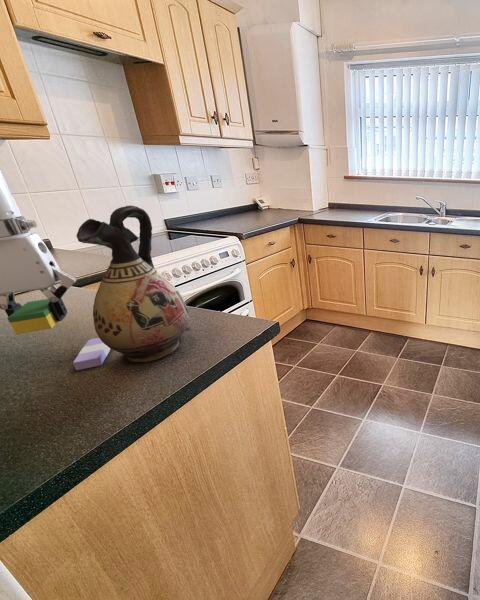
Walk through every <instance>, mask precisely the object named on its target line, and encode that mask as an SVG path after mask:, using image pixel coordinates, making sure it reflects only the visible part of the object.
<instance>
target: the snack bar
mask: <svg viewBox="0 0 480 600" xmlns="http://www.w3.org/2000/svg"><path fill="white" fill-rule="evenodd" d="M111 350H112V349H111V348H109V347H108V346H106V345H105V344H104V343H103V342H102V341H101V340H100V338H99V337H95V338H91V339H88V340H87V342H86V343H85V344H84V346H83V347H82V348H81V350H80V351H79V353H78V354H77V356H76V357H75V359H74V360H73V362H72V365H73V367H74V369H75V371H81V370H85V369H90V368H94V367H99V366H103V364H104V362H105V360H106V358H107V357H108V355H109V353H110V352H111Z"/></svg>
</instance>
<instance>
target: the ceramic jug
mask: <svg viewBox="0 0 480 600" xmlns="http://www.w3.org/2000/svg"><path fill="white" fill-rule="evenodd" d="M128 218H132V219H136V220H138V223H139V237H138V236H137V235H136V234H135V233H134V232H133V231H132V230H131V229H129V228H128V227H125V224H124V222H125V220H126V219H128ZM152 237H153V224H152V220H151V217H150V216H149V214H148V213H147V212H146V211H145V210H144V209H143V208H141V207H139V206H136V205H125V206H121V207H118V208H116V209H115V210H113V211H112V212H111V214H110V217H109V223H107V222H105V221H99V220H96V219H95V218H88V219H86V220H84V222H82V223H81V225H80V226H79V227H78V230H77V233H76V239H77V242H79V243H82V244H89V245H97V246H103V247H106V248H108V249H110V250H111V257H112V258H111V260H110V262H109V265H108V267H107V269H106V271H105V273H104V274H103V276H102V279H101V281H100V283H99V286H98V289H97V291H96V293H95V296H94V301H93V306H92V318H93V327H94V330H95V333H96V334H97V337H98V338H100V340H101V341H102V342H103V343H104V344H105V345H106V346H108V347H109V348H111V349H110V350H113V351H115V352H117V353H119V354H122V355H124V356H125V357H126V358H127V360H128V362H130V363H136V362H137V363H147V362H152V361H155V360H159V359H162V358H163V357H166V356H168V355H170V354H171V353H173V352H175V350H177V348H178V347H179V344H180V342H179V341H180V338H181V337H182V335H183V334H184V332H185V331H186V330H187V327H188V324H189V320H190V319H189V310H188V306H187V303H186V301H185V300H184V298H183V296H182V294H181V292H180V291H179V290H178V289H177V288H176V286H175V285H174V284H173V283H172V282H171V281H170V280H168V278H167V277H165V276H164V275H163V274H162V273H161V272H159V271H158V270H157V269H156V268H155V265H154V263H153V259H152V258H153V257H152V255H151V254H152V250H153V249H152V241H153V240H152V239H153V238H152ZM136 241H139V244H138V252H137V251H136V250H135V248H134V247H133V245H132V243H135V242H136Z"/></svg>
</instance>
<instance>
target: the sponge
mask: <svg viewBox="0 0 480 600" xmlns="http://www.w3.org/2000/svg"><path fill="white" fill-rule="evenodd" d="M49 302H50V301H49V299H48V298H45V299H38V300H32V301H31V300H30V301H27V302H26V303H24V304H23V305H21V306H22V307H21V308H19V309H18V310H17V311H15V312H14V313H13V314H12V315H10V316H9V317H8V316H7V317H6V319H7V320H8V322H9V324H10V325H11V327H12V330H13V331H14V333H15V335H21V334H27V333H28V334H29V333H33V332H34V333H35V332H39V331H45V330H51V329H53V328H54V326H56V325H57V323H59V321H56V320H55V318H54V316H53V314H52V312H51V310H50V308H49V306H48V303H49Z"/></svg>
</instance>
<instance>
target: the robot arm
mask: <svg viewBox="0 0 480 600" xmlns="http://www.w3.org/2000/svg"><path fill="white" fill-rule="evenodd" d="M37 226H38V225H37V222H36V221H35V220H34V219H31V220H29V219H26V218H25V216H24V215H22V212H21V211H20V208H19V206H18V204H17V202H16V200H15V198H14V196H13V193H12V192H11V190H10V187H9V185H8V182H7V181H6V178H5V177H4V174H3V172H2V170H1V169H0V310H1V311H4V313H6V315H7V318H8V317H9V316H10V315H12V314H13V313H14V312H15V311H17V310H18V309H19V308H21V307H22V306H23V305H22V304H21V303H20V302H17V301H16V296H15V295H16V294H17V293H25V292H30V291H37V290H38V291H39V292H40V293H42V294H43V295H44V296H45V297H46V299H49V301H50V302H49V303H48V306H49V308H50V310H51V312H52V314H53V316H54V318H55V320H56V321H58V322H62V321H63V320H64V319H65V318H66V317H67V314H68V309H67V307H66V305H65V302H64V300H63V298H62V297H64V295H65V294H66V292H67V291H68V290H69V289H70V288H71V287H72V286H73V285H74V284H75V283H76V282H77V278H76V277H74V276H72V275H71V274H69V273H67V272H65V271H63V270H61V269H60V267H59V264H58V263H57V261H56V259H55V258H54V256H53V254H52V253H51V251H50V250H49V248H48V247H47V245H46V243H45V242H44V241H43V239H42V238H41V237H40V235H39V234H38V233H37V232H31V229H34V228H35V229H36V228H37ZM59 281H61V282H62V283H61V284H60V285H59V286H57V285H55V284H56V282H59ZM15 293H16V294H15Z"/></svg>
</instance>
